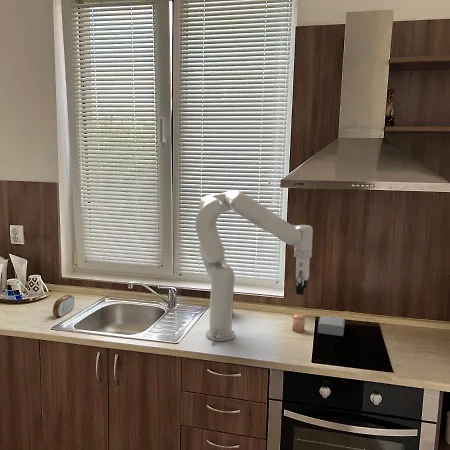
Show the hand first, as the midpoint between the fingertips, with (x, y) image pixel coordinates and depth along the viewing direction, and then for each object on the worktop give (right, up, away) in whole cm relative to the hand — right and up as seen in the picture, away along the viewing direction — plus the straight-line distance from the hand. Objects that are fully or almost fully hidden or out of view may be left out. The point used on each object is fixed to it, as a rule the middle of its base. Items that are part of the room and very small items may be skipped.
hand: (301, 291), depth 200 cm
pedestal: (+14, -18, +4) cm, 24 cm away
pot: (-1, -18, +3) cm, 18 cm away
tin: (-110, -13, +15) cm, 112 cm away
